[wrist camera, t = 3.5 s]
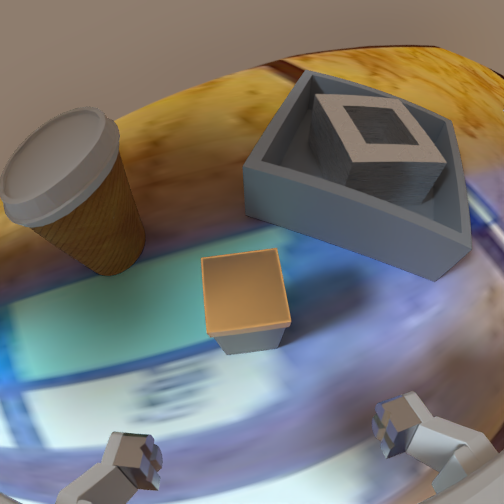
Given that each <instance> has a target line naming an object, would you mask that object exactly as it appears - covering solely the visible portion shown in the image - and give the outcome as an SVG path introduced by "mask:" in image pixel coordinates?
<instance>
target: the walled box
mask: <svg viewBox="0 0 504 504" xmlns="http://www.w3.org/2000/svg"><path fill="white" fill-rule="evenodd" d="M315 94H338V95H358V96H372V97H383V98H392V99H399V100H400V101H401V102H402V104H403V105H404V106H405V107H406V108H407V110H408V111H409V112H410V113H411V114H412V116H413V117H414V118H415V119H416V121H417V122H418V123H419V124H420V126H421V127H422V128H423V130H424V131H425V132H426V134H427V135H428V136H429V138H430V139H431V140H432V142H433V143H434V145H435V146H436V147H437V149H438V150H439V152H440V153H441V155H442V156H443V158H444V159H445V161H446V162H447V164H446V165H445V167H444V169H443V170H442V172H441V173H440V175H439V177H438V178H437V180H436V181H435V183H434V185H433V186H432V188H431V189H430V191H429V192H428V194H427V195H426V197H425V199H424V200H423V202H422V203H421V205H408V206H397V205H394V204H392V203H389V202H387V201H384V200H382V199H379V198H376V197H374V196H371V195H368V194H365V193H363V192H360V191H357V190H354V189H351V188H348V187H345V186H343V185H340V184H337V183H334V182H331V181H328V180H324V179H323V177H322V174H321V172H320V169H319V167H318V164H317V162H316V159H315V157H314V155H313V152H312V150H311V147H310V145H309V143H308V137H309V131H310V124H311V117H312V111H313V104H314V96H315ZM243 181H244V197H245V212H246V215H247V216H250V217H253V218H256V219H259V220H262V221H265V222H268V223H271V224H274V225H277V226H280V227H283V228H286V229H289V230H292V231H295V232H298V233H301V234H304V235H307V236H310V237H313V238H316V239H319V240H322V241H325V242H328V243H330V244H333V245H336V246H339V247H342V248H345V249H348V250H350V251H353V252H356V253H359V254H362V255H364V256H367V257H370V258H373V259H375V260H378V261H381V262H384V263H386V264H389V265H392V266H394V267H397V268H400V269H402V270H405V271H408V272H410V273H413V274H416V275H418V276H421V277H423V278H426V279H429V280H431V281H434V282H435V281H436V280H437V279H439V278H440V277H441V276H442V275H443V274H445V273H446V272H447V271H448V270H449V269H450V268H452V267H453V266H454V265H455V264H456V263H457V262H458V261H459V260H461V259H462V258H463V257H464V256H465V255H466V254H467V253H468V252H469V251H470V250H472V240H471V226H470V215H469V206H468V198H467V191H466V184H465V178H464V173H463V167H462V162H461V157H460V152H459V148H458V144H457V139H456V135H455V132H454V128H453V124H452V121H451V120H449V119H447V118H445V117H442V116H440V115H438V114H436V113H434V112H432V111H430V110H427V109H425V108H423V107H421V106H418V105H416V104H413V103H411V102H409V101H406V100H404V99H401V98H399V97H396V96H393V95H391V94H388V93H385V92H382V91H379V90H376V89H374V88H371V87H367V86H364V85H361V84H358V83H355V82H351V81H348V80H344V79H341V78H337V77H333V76H330V75H326V74H322V73H317V72H313V71H309V70H305V72H304V73H303V74H302V76H301V77H300V79H299V80H298V82H297V83H296V85H295V86H294V88H293V89H292V90H291V92H290V93H289V95H288V96H287V98H286V99H285V101H284V102H283V104H282V105H281V107H280V108H279V110H278V111H277V113H276V114H275V116H274V118H273V119H272V121H271V122H270V124H269V125H268V127H267V128H266V130H265V131H264V133H263V135H262V136H261V138H260V139H259V141H258V142H257V144H256V146H255V147H254V149H253V150H252V152H251V154H250V155H249V157H248V158H247V160H246V162H245V163H244V165H243Z"/></svg>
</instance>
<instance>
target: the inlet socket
mask: <svg viewBox="0 0 504 504" xmlns="http://www.w3.org/2000/svg"><path fill="white" fill-rule="evenodd" d="M308 143H309V145H310V147H311V150H312V152H313V155H314V157H315V159H316V162H317V164H318V167H319V169H320V172H321V174H322V177H323V179H324V180H328V181H331V182H334V183H337V184H340V185H343V186H345V187H348V188H351V189H354V190H357V191H360V192H363V193H365V194H368V195H371V196H374V197H376V198H379V199H382V200H384V201H387V202H389V203H392V204H394V205H397V206H408V205H421V203H422V202H423V200H424V199H425V197H426V195H427V194H428V192H429V191H430V189H431V188H432V186H433V185H434V183H435V181H436V180H437V178H438V177H439V175H440V173H441V172H442V170H443V169H444V167H445V165H446V164H447V162H446V161H445V159H444V158H443V156H442V155H441V153H440V152H439V150H438V149H437V147H436V146H435V145H434V143H433V142H432V140H431V139H430V138H429V136H428V135H427V134H426V132H425V131H424V130H423V128H422V127H421V126H420V124H419V123H418V122H417V121H416V119H415V118H414V117H413V116H412V114H411V113H410V112H409V111H408V110H407V108H406V107H405V106H404V105H403V104H402V102H401V101H400V100H399V99H392V98H383V97H372V96H358V95H338V94H315V96H314V104H313V111H312V117H311V124H310V131H309V137H308Z"/></svg>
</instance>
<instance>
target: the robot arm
mask: <svg viewBox="0 0 504 504" xmlns="http://www.w3.org/2000/svg"><path fill="white" fill-rule="evenodd" d="M375 411H376V414H375V415H374V416H373V418H372V430H373V433H374V436H375V438H376V439H378V440H380V441H382V442H381V445H380V448H381V450H382V452H383V454H384V455H385V457H386V459H387V458H390V457H393V456H396V455H398V454H401V453H404V452H406V453H407V454H409V455H410V456H412V457H414V458H416V459H417V460H419V461H421V462H422V463H424V464H426V465H428V466H429V467H431V468H433V469H435V470H436V471H438V472H440V473H439V474H438V475H437V477H436V478H435V479H434V480H433V482H432V486H433V488H434V490H435V492H436V495H434V496H432V497H430V498H428V499H426V500H424V501H422V502H420V503H418V504H504V450H502V451H501V452H500V453H498V452H497V451H496V449H495V448H494V447H493V445H492V444H491V443H490V441H489V440H488V439H487V438H486V436H485V435H484V434H483V433H482V432H479V431H476V430H473V429H470V428H467V427H464V426H462V425H459V424H456V423H453V422H451V421H448V420H446V419H443V418H440V417H438V416H436V417H433V416H432V414H431V413H430V412H429V410H428V409H427V407H426V406H425V405H424V403H423V402H422V401H421V399H420V398H419V397H418V395H417V394H416V393H415V392H414V391H411V392H408V393H405V394H403V395H399V396H396V397H394V398H391V399H388V400H385V401H382V402H379V403H377V405H376V407H375ZM162 463H163V460H162V453H161V450H160V448H159V447H158V446H157V445H155V444H154V438H153V437H152V435H147V434H134V433H124V432H112V433H111V435H110V437H109V440H108V443H107V446H106V449H105V452H104V455H103V458H102V461H101V463H97V464H95V465H94V466H93V467H92V468H90V469H89V470H88V471H86V472H85V473H84V474H83V475H81V476H80V477H79V478H77V479H76V480H75V481H73V482H72V483H71V484H69V485H68V486H67V487H65V488H64V489H62V490H61V491H60V492H59V494H58V497H57V500H56V503H55V504H126V503H127V502H128V501H129V500H130V498H131V497H132V496H133V495H134V494H135V493H136V492H137V491H138V489H143V490H156V491H158V490H159V483H160V476H159V474H158V473H157V472H158V471H159V470H160V469H161V468H162ZM0 504H22V503H20V502H18V501H16V500H14V499H12V498H10V497H9V496H7V495H5V494H3V493H2V492H0Z"/></svg>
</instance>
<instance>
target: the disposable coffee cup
mask: <svg viewBox="0 0 504 504" xmlns="http://www.w3.org/2000/svg"><path fill="white" fill-rule="evenodd" d="M119 138H120V134H119V130H118V127H117V125H116V123H115V122H114V121H113V120H111V119H109V118H107V117H106V115H105V114H104V113H103V112H102V111H101V110H99V109H98V108H93V107H82V108H76V109H73V110H70V111H67V112H64V113H62V114H60V115H58V116H56V117H54V118H52V119H50V120H49V121H47V122H46V123H44V124H43V125H42V126H40V127H39V128H38V129H37V130H35V131H34V132H33V133H32V134H30V135H29V136H28V137H27V138H26V139H25V141H23V142H22V143H21V144H20V146H19V147H18V148H17V149H16V150H15V152H14V153H13V155H12V156H11V157H10V159H9V160H8V162H7V164H6V166H5V168H4V170H3V173H2V175H1V177H0V197H1V199H2V201H3V203H4V210H5V214H6V215H7V217H8V218H9V219H10V220H11V221H12V222H14V223H16V224H19V225H23V226H26V227H30V228H31V229H32V230H34V231H35V232H36V233H38V234H40V236H42V237H45V239H46V240H48V241H50V243H52V244H53V245H55V246H56V247H58V248H60V249H61V250H62V251H64V252H65V253H67V254H68V255H69V256H71V257H73V258H74V259H76V260H77V261H79V262H80V263H82V264H83V265H85V266H87V267H88V268H89V269H91V270H93V271H94V272H96V273H98V274H100V275H104V276H111V275H116V274H119V273H121V272H123V271H125V270H126V269H128V268H129V267H130V266H132V265H133V264H134V263H135V261H136V260H137V259H138V258H139V256H140V254H141V252H142V250H143V248H144V244H145V231H144V228H143V225H142V222H141V219H140V217H139V214H138V211H137V208H136V205H135V202H134V199H133V196H132V193H131V189H130V186H129V183H128V180H127V177H126V173H125V170H124V167H123V163H122V160H121V157H120V153H119Z"/></svg>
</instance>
